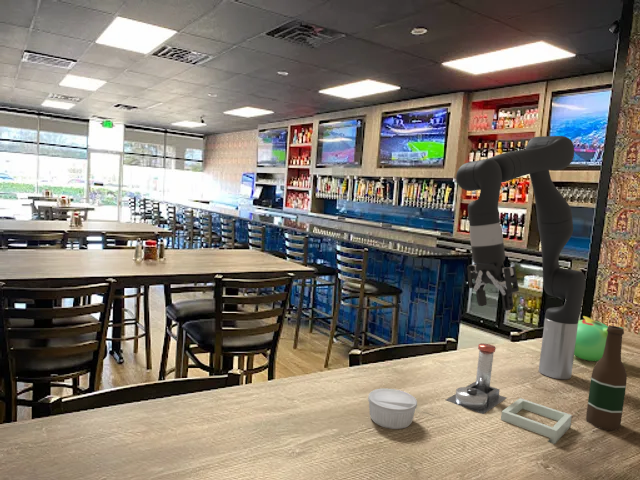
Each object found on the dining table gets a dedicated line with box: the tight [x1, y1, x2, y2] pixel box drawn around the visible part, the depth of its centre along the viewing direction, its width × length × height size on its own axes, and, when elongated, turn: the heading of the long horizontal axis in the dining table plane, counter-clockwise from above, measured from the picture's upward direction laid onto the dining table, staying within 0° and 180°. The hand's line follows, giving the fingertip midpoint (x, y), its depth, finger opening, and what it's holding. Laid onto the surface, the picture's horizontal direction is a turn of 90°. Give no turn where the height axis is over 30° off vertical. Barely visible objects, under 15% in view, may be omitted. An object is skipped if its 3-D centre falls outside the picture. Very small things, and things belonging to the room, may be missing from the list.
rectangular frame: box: [500, 397, 573, 445], centre depth 113 cm, size 12×12×3 cm
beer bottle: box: [585, 325, 628, 431], centre depth 116 cm, size 8×8×24 cm
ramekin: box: [367, 387, 418, 430], centre depth 110 cm, size 11×11×5 cm
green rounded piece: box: [574, 315, 624, 362], centre depth 168 cm, size 18×17×15 cm
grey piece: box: [445, 381, 507, 415], centre depth 124 cm, size 15×10×4 cm, turn 138°
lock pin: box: [475, 343, 497, 393], centre depth 126 cm, size 4×4×13 cm
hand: (494, 307), depth 119 cm, fingers open, 8 cm apart
